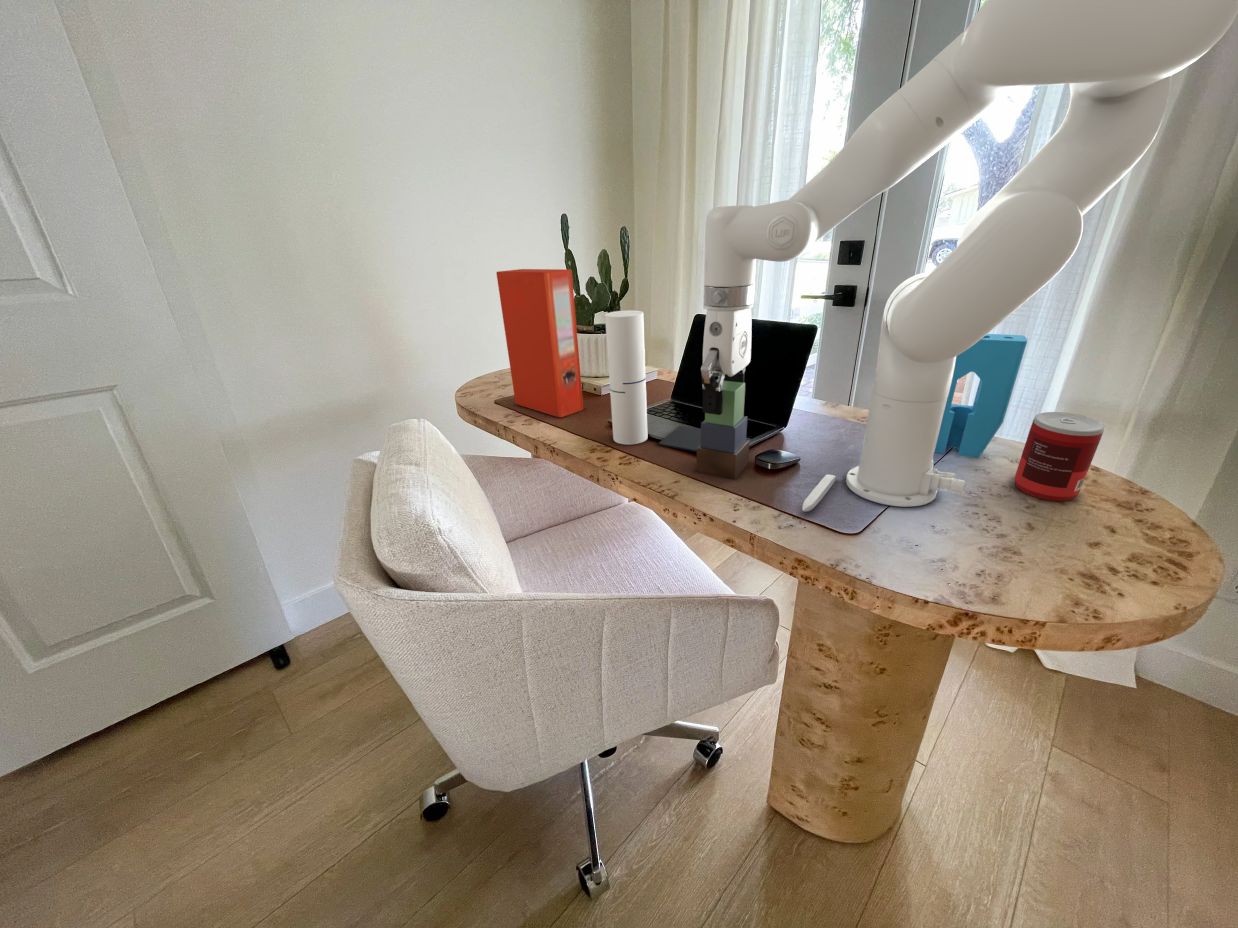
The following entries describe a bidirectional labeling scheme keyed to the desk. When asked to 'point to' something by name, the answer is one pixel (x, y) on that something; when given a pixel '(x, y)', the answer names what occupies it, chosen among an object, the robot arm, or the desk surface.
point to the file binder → (542, 339)
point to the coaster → (683, 439)
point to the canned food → (1057, 455)
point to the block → (981, 393)
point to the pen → (818, 492)
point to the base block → (723, 461)
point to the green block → (730, 405)
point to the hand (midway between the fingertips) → (723, 404)
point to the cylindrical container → (627, 375)
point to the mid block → (723, 436)
